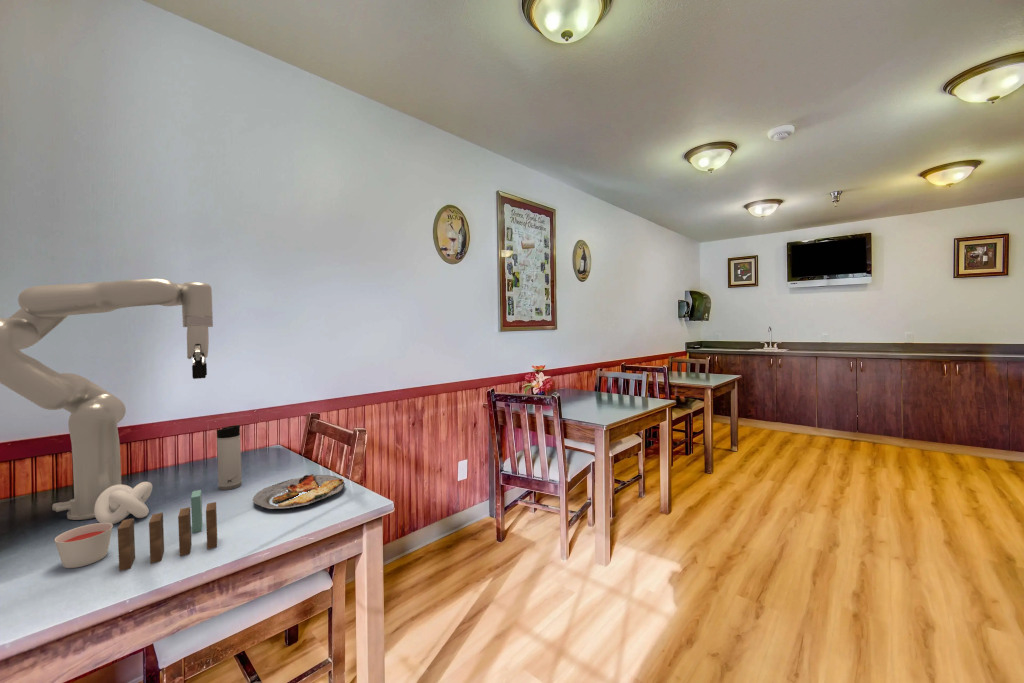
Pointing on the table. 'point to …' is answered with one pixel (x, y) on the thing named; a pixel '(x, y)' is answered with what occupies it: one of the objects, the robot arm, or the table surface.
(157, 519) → the domino
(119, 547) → the domino
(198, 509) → the domino
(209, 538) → the domino
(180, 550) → the domino
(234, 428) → the travel mug
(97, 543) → the candle
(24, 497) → the table surface
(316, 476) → the food plate
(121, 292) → the robot arm
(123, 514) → the white knot
